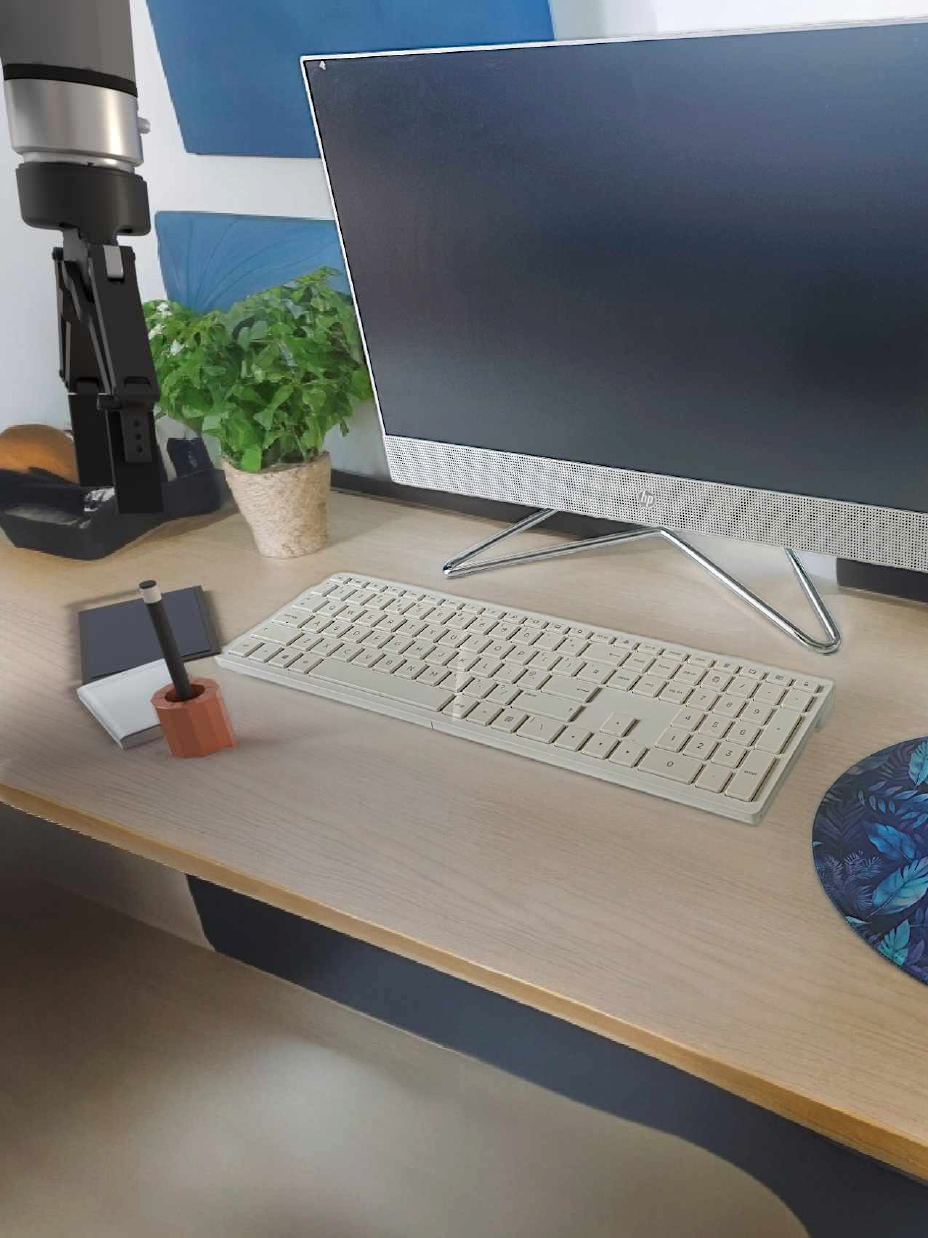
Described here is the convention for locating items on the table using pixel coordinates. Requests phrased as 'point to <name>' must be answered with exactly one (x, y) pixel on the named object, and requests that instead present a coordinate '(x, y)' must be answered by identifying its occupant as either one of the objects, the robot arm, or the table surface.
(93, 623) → the tablet
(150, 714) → the hard drive
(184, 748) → the pen holder
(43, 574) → the table surface
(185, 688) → the stylus
